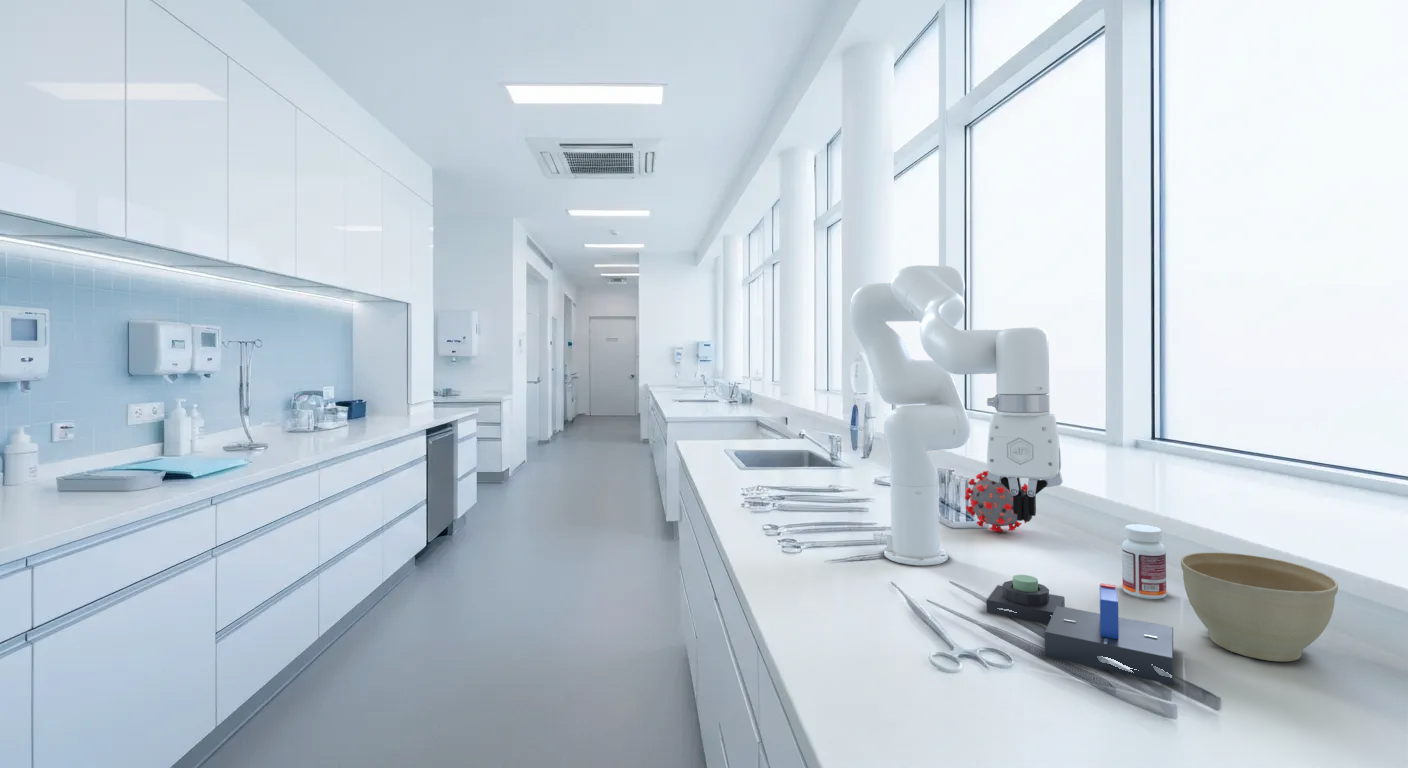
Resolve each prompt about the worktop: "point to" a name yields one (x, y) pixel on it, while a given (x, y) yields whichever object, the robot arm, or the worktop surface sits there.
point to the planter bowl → (1258, 603)
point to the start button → (1025, 583)
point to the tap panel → (1110, 644)
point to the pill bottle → (1144, 562)
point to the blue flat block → (1109, 611)
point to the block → (1024, 603)
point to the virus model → (992, 503)
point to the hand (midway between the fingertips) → (1024, 519)
